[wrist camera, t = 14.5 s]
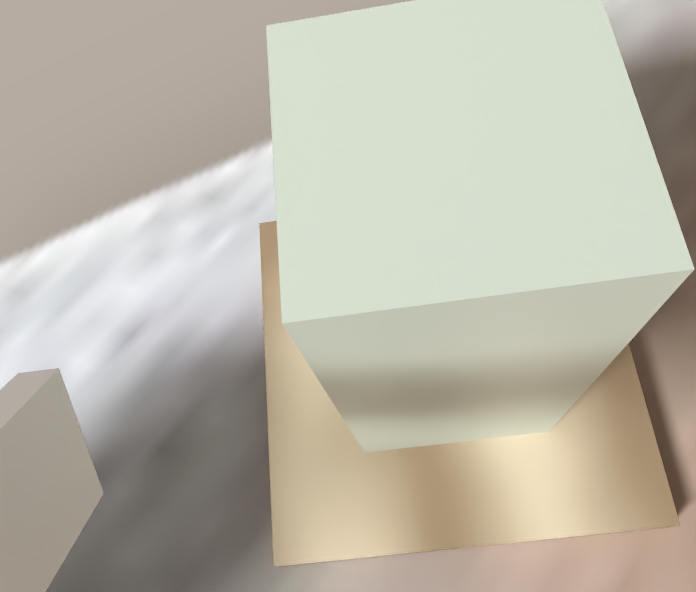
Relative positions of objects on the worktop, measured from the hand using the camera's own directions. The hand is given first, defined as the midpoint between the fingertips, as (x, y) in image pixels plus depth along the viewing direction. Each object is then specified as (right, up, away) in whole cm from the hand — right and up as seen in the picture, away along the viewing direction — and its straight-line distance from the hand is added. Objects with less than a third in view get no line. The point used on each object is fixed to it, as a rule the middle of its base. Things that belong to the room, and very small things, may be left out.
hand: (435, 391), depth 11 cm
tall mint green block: (+2, 0, +10) cm, 10 cm away
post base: (+2, -1, +11) cm, 11 cm away
